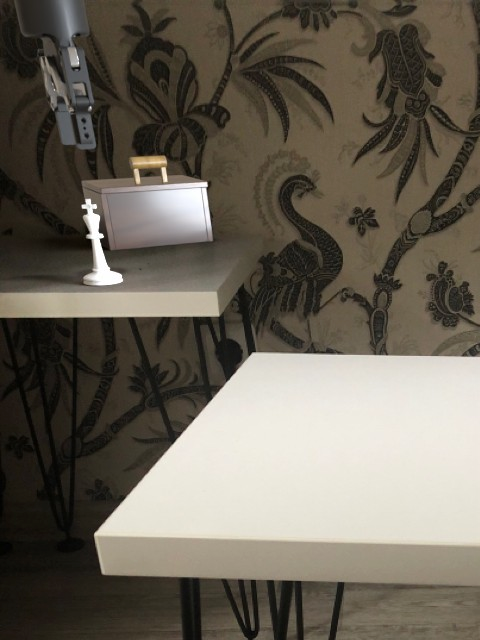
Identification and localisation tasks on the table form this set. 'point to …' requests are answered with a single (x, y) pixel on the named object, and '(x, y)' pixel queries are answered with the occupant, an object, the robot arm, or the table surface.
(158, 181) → the chess box lid
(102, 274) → the chess piece
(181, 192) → the chess box
